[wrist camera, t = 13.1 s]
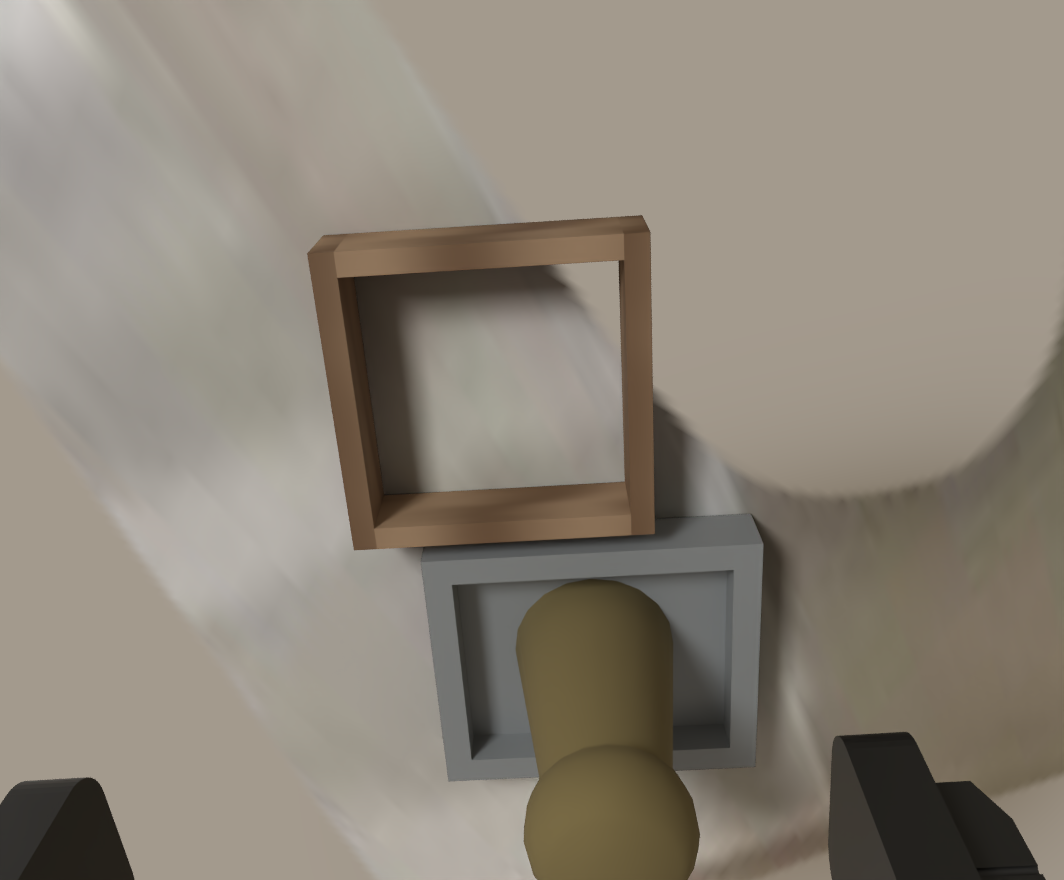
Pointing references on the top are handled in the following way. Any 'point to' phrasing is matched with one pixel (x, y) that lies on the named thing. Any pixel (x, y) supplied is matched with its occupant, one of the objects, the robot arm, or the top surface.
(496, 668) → the tray
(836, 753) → the robot arm
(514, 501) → the socket block
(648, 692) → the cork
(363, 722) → the top surface
